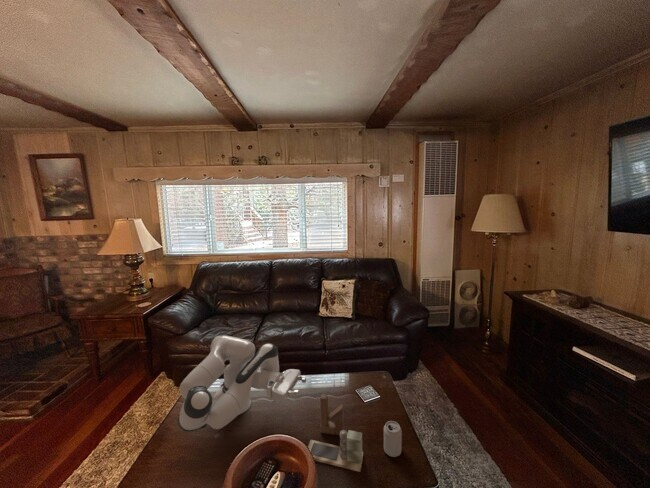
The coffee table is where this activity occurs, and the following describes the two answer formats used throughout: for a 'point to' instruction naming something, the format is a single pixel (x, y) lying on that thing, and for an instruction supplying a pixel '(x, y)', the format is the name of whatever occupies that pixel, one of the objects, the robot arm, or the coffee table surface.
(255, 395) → the coffee table surface
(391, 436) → the can
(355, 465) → the hinge jig
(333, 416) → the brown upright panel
